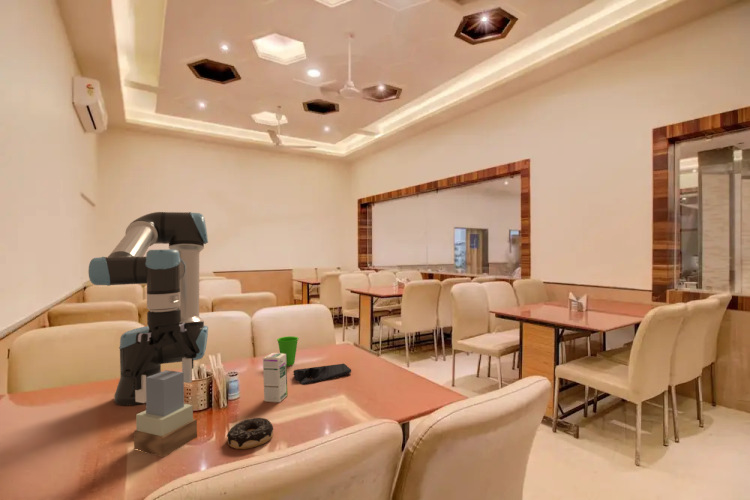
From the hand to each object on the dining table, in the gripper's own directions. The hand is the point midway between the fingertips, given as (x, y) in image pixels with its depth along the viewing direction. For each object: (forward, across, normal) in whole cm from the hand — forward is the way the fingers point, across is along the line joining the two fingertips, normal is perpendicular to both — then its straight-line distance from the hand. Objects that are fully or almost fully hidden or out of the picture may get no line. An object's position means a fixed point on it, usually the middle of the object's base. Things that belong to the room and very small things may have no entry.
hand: (165, 391), depth 96 cm
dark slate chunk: (+14, +58, -14) cm, 62 cm away
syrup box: (+14, +33, -10) cm, 37 cm away
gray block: (+5, 0, 0) cm, 5 cm away
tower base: (+14, 0, 0) cm, 14 cm away
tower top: (+9, 0, 0) cm, 9 cm away
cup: (+14, +66, +7) cm, 68 cm away
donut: (+14, +8, -20) cm, 25 cm away
